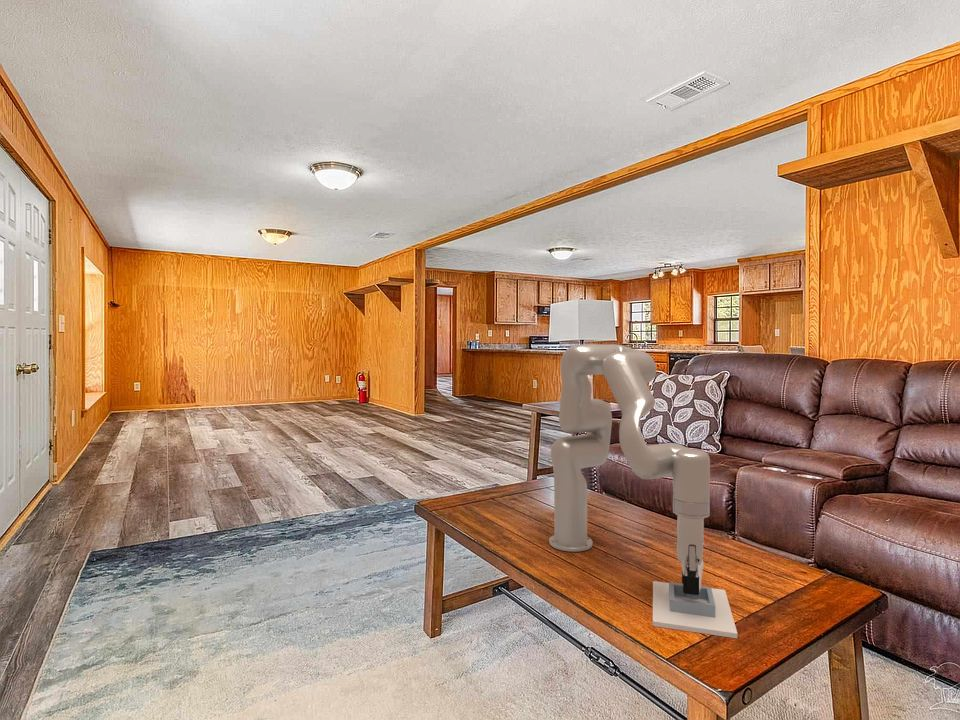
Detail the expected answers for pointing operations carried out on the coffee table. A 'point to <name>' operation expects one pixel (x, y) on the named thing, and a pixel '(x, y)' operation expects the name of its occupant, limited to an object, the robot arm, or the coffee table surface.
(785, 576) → the coffee table surface
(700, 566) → the milkshake
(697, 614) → the dock
